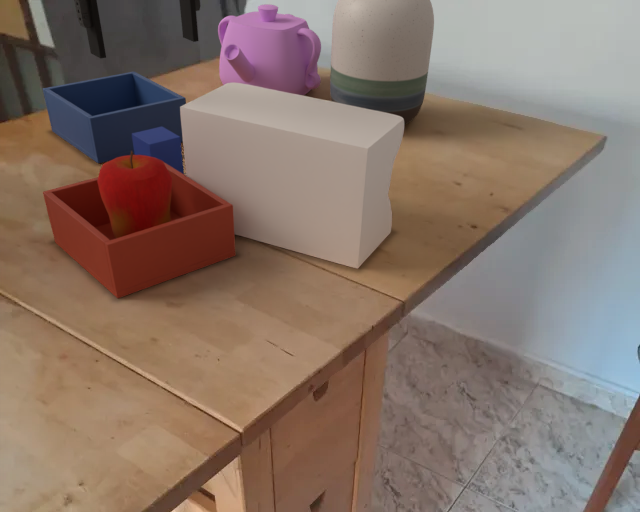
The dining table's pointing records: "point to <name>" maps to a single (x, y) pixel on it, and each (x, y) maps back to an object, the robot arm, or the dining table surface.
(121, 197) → the apple
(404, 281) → the dining table surface
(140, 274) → the red bin
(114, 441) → the dining table surface
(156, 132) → the block
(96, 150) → the blue bin
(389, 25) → the vase
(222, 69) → the teapot
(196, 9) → the robot arm
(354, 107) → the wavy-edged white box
